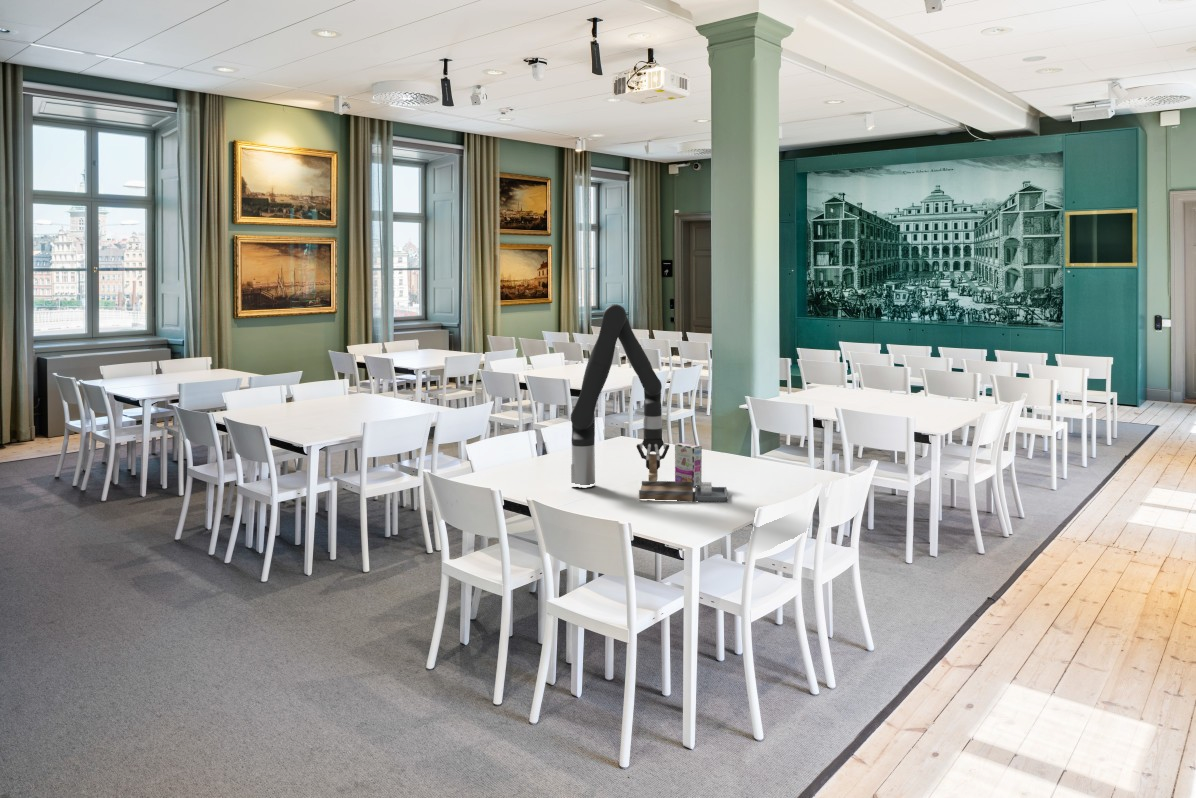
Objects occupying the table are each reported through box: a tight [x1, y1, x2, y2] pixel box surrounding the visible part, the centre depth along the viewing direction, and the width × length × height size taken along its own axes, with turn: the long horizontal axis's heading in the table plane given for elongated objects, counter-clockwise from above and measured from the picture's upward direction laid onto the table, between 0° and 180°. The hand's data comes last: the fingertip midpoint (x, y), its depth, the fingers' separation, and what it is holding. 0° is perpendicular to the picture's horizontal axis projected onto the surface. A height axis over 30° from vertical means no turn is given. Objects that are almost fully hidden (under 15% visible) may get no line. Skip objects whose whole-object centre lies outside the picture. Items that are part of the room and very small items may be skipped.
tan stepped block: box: [648, 453, 659, 481], centre depth 362 cm, size 3×11×11 cm, turn 173°
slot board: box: [638, 480, 694, 502], centre depth 346 cm, size 20×16×4 cm
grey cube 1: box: [701, 481, 713, 487], centre depth 348 cm, size 4×4×4 cm
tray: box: [694, 486, 728, 503], centre depth 345 cm, size 12×16×2 cm
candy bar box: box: [674, 442, 703, 488], centre depth 364 cm, size 11×5×16 cm, turn 37°
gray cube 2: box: [700, 485, 713, 497], centre depth 343 cm, size 4×4×4 cm
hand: (653, 468), depth 362 cm, fingers closed on tan stepped block, 3 cm apart
